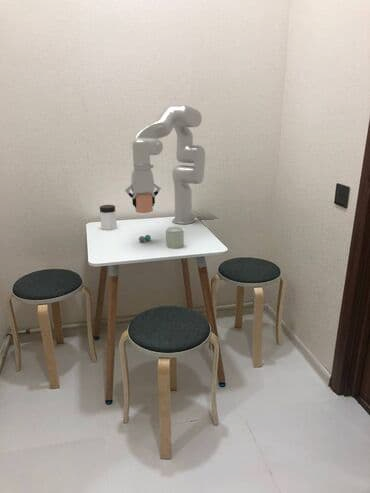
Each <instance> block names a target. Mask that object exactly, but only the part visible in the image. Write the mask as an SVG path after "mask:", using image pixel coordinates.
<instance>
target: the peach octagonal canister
mask: <svg viewBox="0 0 370 493" xmlns="http://www.w3.org/2000/svg"><path fill="white" fill-rule="evenodd" d="M135 199H136V207H134V208H135V210H134V211H135V212H136V213H138V214H148V213H152V212H153V211H154V208H153V207H154V206H153V203H152V195H151V193H138V194H137V195H136V197H135Z"/></svg>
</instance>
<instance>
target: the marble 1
mask: <svg viewBox="0 0 370 493" xmlns="http://www.w3.org/2000/svg"><path fill="white" fill-rule="evenodd" d="M138 241H139V242H140V243H145V241H146V240H145V236H144V235H141V236H139V238H138Z"/></svg>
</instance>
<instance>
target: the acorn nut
mask: <svg viewBox="0 0 370 493" xmlns="http://www.w3.org/2000/svg"><path fill="white" fill-rule="evenodd" d="M184 240H185V237H184V229H183V228H182V227H179V226H169V227H167V228H166V230H165V245H166V248H170V249H181V248H183V247H184V246H185V241H184Z"/></svg>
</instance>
